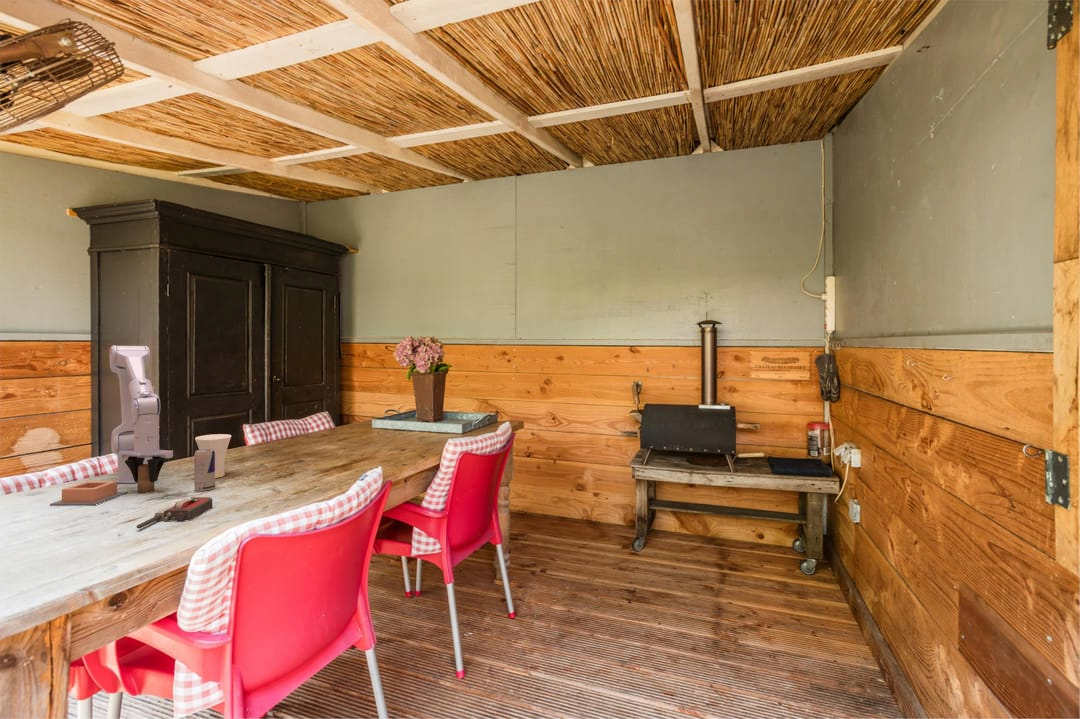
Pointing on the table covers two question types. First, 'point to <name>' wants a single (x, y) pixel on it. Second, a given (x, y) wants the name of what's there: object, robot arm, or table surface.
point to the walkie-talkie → (182, 510)
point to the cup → (215, 449)
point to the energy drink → (204, 470)
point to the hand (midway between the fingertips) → (146, 481)
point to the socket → (89, 493)
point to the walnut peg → (144, 479)
